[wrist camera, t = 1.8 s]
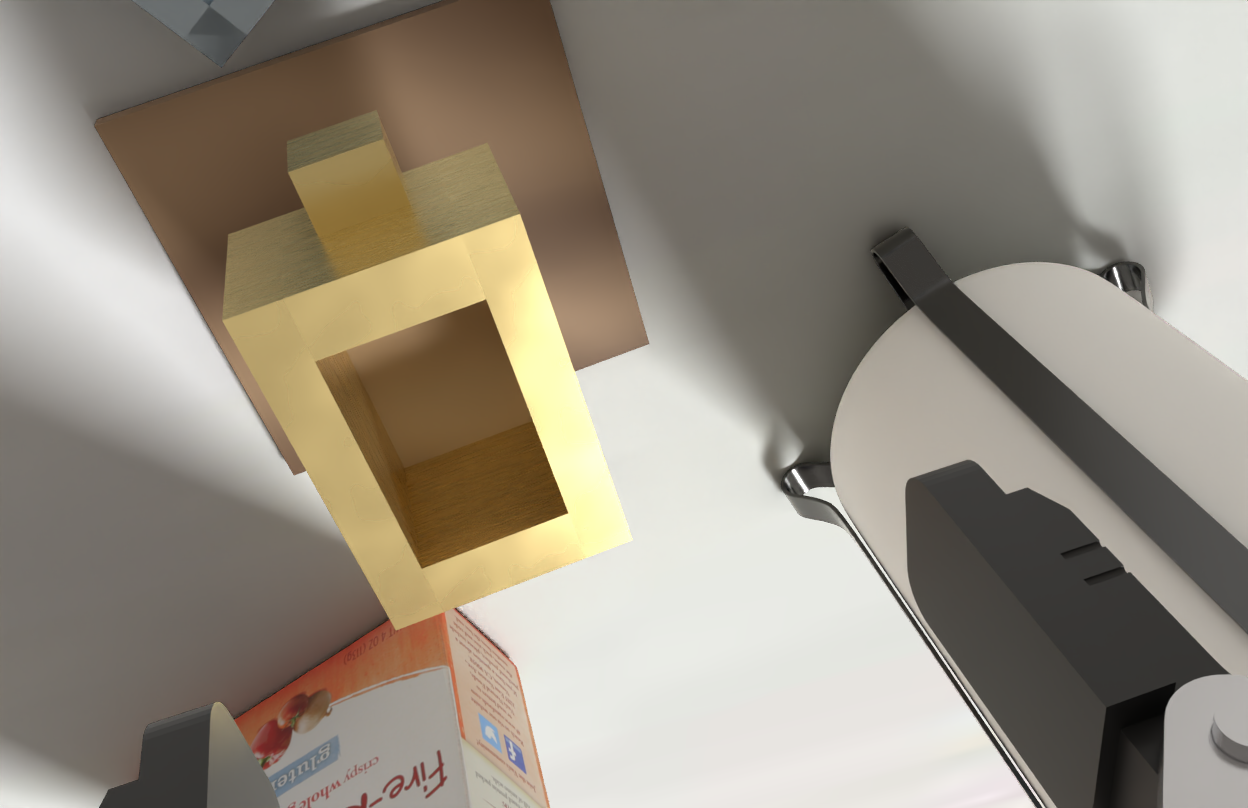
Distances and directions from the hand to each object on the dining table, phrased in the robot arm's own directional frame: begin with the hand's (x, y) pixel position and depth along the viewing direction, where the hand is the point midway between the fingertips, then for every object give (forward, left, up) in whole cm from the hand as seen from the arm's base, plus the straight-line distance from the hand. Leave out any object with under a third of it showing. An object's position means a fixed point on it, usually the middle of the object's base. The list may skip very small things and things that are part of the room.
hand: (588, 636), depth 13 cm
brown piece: (-3, +4, -21) cm, 22 cm away
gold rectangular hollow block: (-3, +4, -15) cm, 16 cm away
